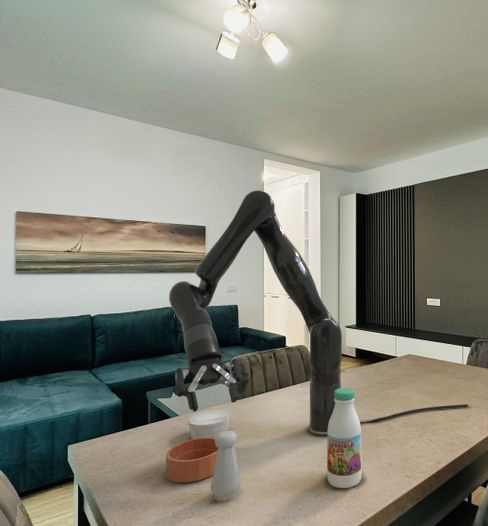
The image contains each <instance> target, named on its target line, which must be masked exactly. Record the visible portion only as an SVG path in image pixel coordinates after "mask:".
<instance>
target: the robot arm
mask: <svg viewBox="0 0 488 526" xmlns="http://www.w3.org/2000/svg"><path fill="white" fill-rule="evenodd" d="M253 233H255V234H256V236H257V237H258V239H259V240H260V242H261V244H262V246H263V248H264V250H265V251H264V252H265V253H266V256H267V259H268V261H269V263H270V265H271V267H272V270H273V272H274V274H275V276H276V278H277V279H278V281H279V283H280V285H281V287H282V288H283V290H284V291H285V294H287V295H288V297H289V298H290V299H291V301H292V302H293V304H294V305H295V306H296V307H297V308H298V311H299V312H300V314H301V316H302V318H303V320H304V322H305V325H306V327H307V330H308V333H309V432H310V433H311V434H312V435H316V436H327V435H328V424H329V420H330V418H331V415H332V413H333V410H334V407H335V401H334V391H335V390H336V389H340V388H342V371H341V370H342V361H343V360H342V359H343V358H342V355H343V354H342V351H343V350H342V348H343V346H342V345H343V342H342V341H343V337H342V336H343V335H342V329H341V327H340V325H339V324H338V322H337V321H336V320H335V319H334V317H333V316H332V314H331V313H330V312H329V310H328V308H327V307H326V306H325V304H324V302H323V300H322V298H321V297H320V295H319V291H318V289H317V286H316V283H315V280H314V278H313V276H312V274H311V271H310V269H309V267H308V266H307V264H306V262H305V260H304V258H303V257H302V255H301V254H300V252H299V250H298V249H297V248H296V247H295V245H294V244H293V243H292V241H291V240H290V239H289V238H288V237H287V235H286V233H285V232H284V230H283V228H282V226H281V223H280V221H279V219H278V217H277V213H276V209H275V202H274V199H273V197H272V196H271V195H270V193H268V192H266V191H263V190H259V189H257V190H252V191H250V192H248V193H247V194H245V196H244V198H243V199H242V202H241V203H240V206H239V207H238V209H237V212H236V213H235V215H234V217H233V218H232V220H231V221H230V222H229V224H228V226H227V227H226V229H225V230H224V232H223V233H222V234H221V235H220V237H219V238H218V239H217V241H216V242H215V243H214V245H212V247H211V248H210V249H209V251H208V252H207V253H206V254H205V255H204V257H203V258H202V260H201V261H200V262H199V263H198V265H197V266H196V267H195V270H194V273H195V275H196V276H197V277H198V278H199V279H200V281H199V284H198V286H197V285H195V284H193V283H191V282H189V281H185V280H184V281H183V280H182V281H178V282H176V283H175V284H174V285H173V286H172V287H171V289H170V290H169V294H168V299H169V304H170V307H171V309H172V311H173V312H174V314H175V317H176V318H177V319H178V321H179V322H180V325H181V332H182V336H183V348H184V349H183V350H184V352H185V356H186V360H187V364H188V368H187V369H186V368H185V369H183V368H181V367H178V368H176V371H175V374H174V381H175V389H176V396H177V397H178V398H181V397H186V400H187V404H188V409H189V411H191V410H192V413H194V412H197V411H198V409H199V403H198V399H197V394H196V390H197V389H198V387H199V385H202V386H205V385H209V384H216V383H217V382H218V383H220V384H221V385H223V386H226V387H227V388H228V393H229V397H230V401H231V403H236V402H237V400H238V398H239V396H240V393H239V390H238V386H239V385H241V383H242V381H243V378H244V377H243V374H242V371H241V368H240V366H239V362H238V361H237V359H235V358H233V359H231V361H228V362H224V360H223V357H222V353H221V350H220V346H219V342H218V339H217V335H216V332H215V330H214V328H213V325H212V320H211V317H210V315H209V313H208V311H206V309H207V308H208V307H209V306H210V305H211V302H212V300H213V298H214V295H215V292H216V290H217V287H218V285H219V283H220V281H221V279H222V278H223V276H224V275H225V274H226V273H227V271H228V270H229V269H230V267H231V266H232V264H233V263H234V262H235V260H236V259H237V257H238V256H239V253H240V252H241V250H242V248H243V246H244V245H245V243H246V242H247V241H248V239H249V238H250V237H251V235H252V234H253ZM225 369H227V370H228V371H229V372H231V374H232V376H231V375H230V373H229V372H227V371H226V370H225ZM187 376H188V377H190V378H191V379H192V382H191V383H190V385H189V386H188V387H185V381H184V380H185V379H186V377H187ZM468 407H469V404H468V403H464V404H451V405H442V406H441V405H439V406H429V407H428V406H427V407H422V408H416V409H410V410H405V411H402V412H398V413H394V414H391V415H387V416H383V417H377V418H374V419H371V420H367V421H360V425H364V424H372V423H377V422H380V421H386V420H389V419H393V418H396V417H399V416H403V415H407V414H413V413H418V412H425V411H433V410H442V409H457V408H468Z"/></svg>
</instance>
